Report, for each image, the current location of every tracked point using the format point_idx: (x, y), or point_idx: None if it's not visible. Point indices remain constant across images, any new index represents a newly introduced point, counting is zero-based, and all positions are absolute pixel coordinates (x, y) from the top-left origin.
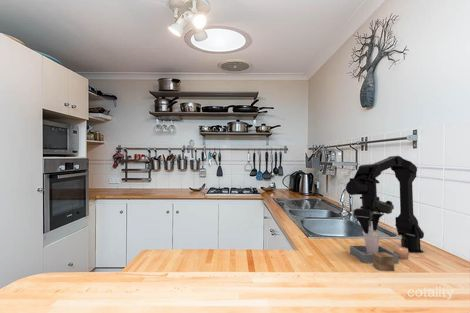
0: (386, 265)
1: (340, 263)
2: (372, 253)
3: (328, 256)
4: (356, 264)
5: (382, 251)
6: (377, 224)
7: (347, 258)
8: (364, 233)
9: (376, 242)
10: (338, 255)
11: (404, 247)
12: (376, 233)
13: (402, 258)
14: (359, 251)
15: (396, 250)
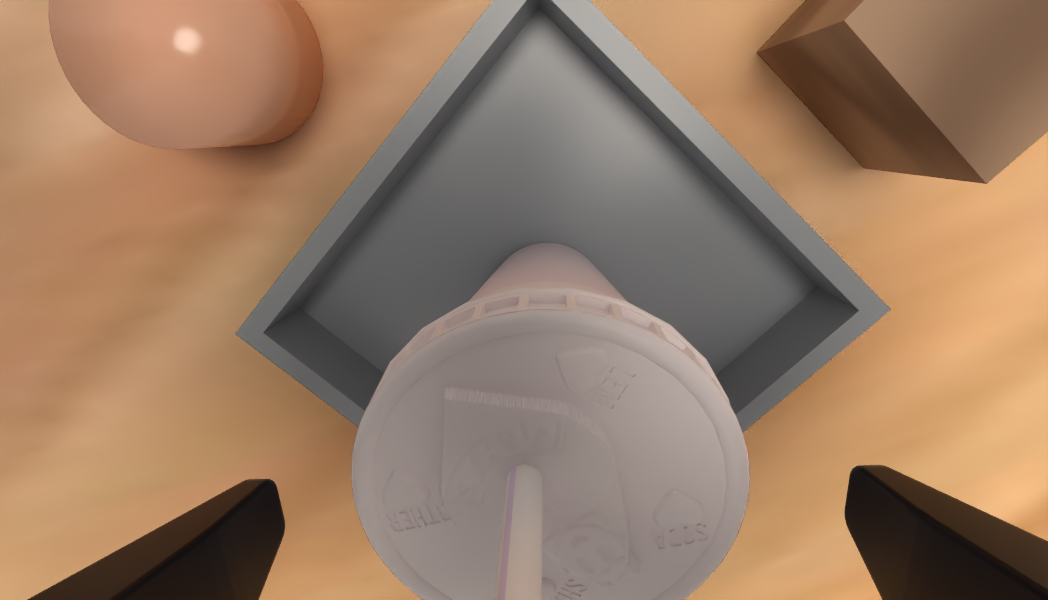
0: None
1: (1010, 429)
2: (979, 179)
3: (847, 593)
4: (934, 311)
5: (325, 267)
6: (106, 582)
7: (778, 455)
8: (704, 553)
9: (597, 286)
10: (738, 551)
11: (63, 5)
12: (651, 336)
13: (303, 14)
14: (761, 402)
15: (271, 79)
